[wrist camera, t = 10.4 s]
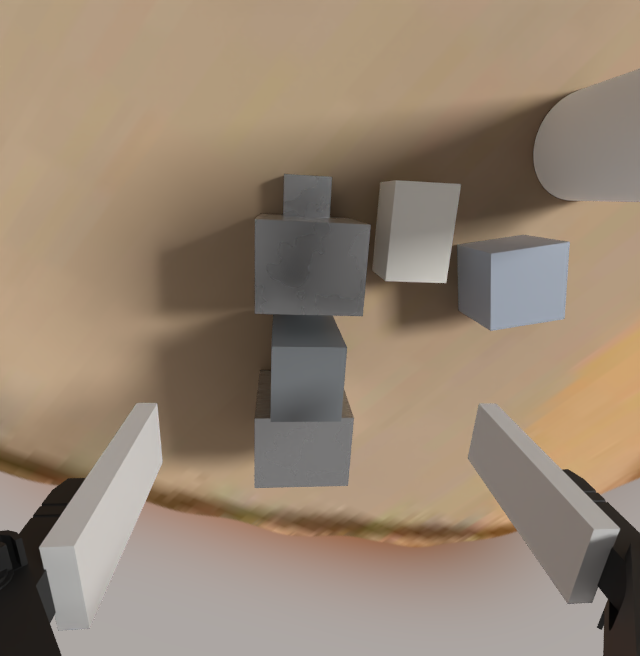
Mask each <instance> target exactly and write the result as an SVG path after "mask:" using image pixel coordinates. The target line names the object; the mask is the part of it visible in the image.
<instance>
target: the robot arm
mask: <svg viewBox="0 0 640 656" xmlns="http://www.w3.org/2000/svg"><path fill="white" fill-rule="evenodd" d="M468 459H469V461H470V462H471V464H472V465H473V467H474V468H475V470H476V471H477V473H478V474H479V476H480V477H481V478H482V480H483V481H484V483H485V484H486V486H487V487H488V489H489V490H490V492H491V493H492V494H493V496H494V497H495V499H496V500H497V502H498V503H499V505H500V506H501V508H502V509H503V510H504V512H505V513H506V515H507V516H508V518H509V519H510V521H511V522H512V524H513V525H514V526H515V528H516V529H517V531H518V532H519V534H520V535H521V537H522V538H523V540H524V541H525V542H526V544H527V545H528V547H529V548H530V550H531V551H532V553H533V554H534V556H535V557H536V559H537V560H538V561H539V563H540V564H541V566H542V567H543V569H544V570H545V572H546V573H547V575H548V576H549V577H550V579H551V580H552V582H553V583H554V585H555V586H556V588H557V589H558V590H559V592H560V593H561V595H562V596H563V598H564V599H565V601H566V602H567V604H574V603H592V602H593V599H594V596H595V594H596V591H597V588H598V587H599V588H600V589H601V591H602V592H603V593H604V594H605V596H606V597H607V598H608V601H607V603H606V606H605V609H604V611H603V614H602V616H601V618H600V621H599V624H598V626H597V628H599V629H602V628H603V626H604V651H603V653H604V655H603V656H640V533H639V532H638V531H637V530H636V529H635V528H634V527H633V526H632V525H631V524H630V523H629V522H628V521H627V520H625V519H624V517H622V516H621V515H620V514H619V513H618V512H617V511H616V510H615V509H614V508H613V507H612V506H611V505H610V504H609V503H608V502H606V501H605V499H604V498H603V497H602V496H601V495H600V494H599V493H596V490H595V489H594V488H592V487H591V486H590V485H589V484H588V483H587V482H586V481H585V480H584V479H583V478H581V477H580V476H578V475H576V474H575V473H573V472H572V471H570V470H568V469H565V470H562V469H561V468H560V467H559V466H558V465H557V464H556V463H555V462H554V461H553V460H552V459H551V458H550V457H549V456H548V455H547V454H546V453H545V452H544V451H543V450H542V449H541V448H540V447H539V446H538V445H537V444H536V443H535V442H534V441H533V440H532V439H531V438H530V437H529V436H528V435H527V434H526V433H525V432H524V431H523V430H522V429H521V428H520V427H519V426H518V425H517V424H516V423H515V422H514V421H513V420H512V419H511V418H510V417H509V416H508V415H507V414H506V413H505V412H504V411H503V410H502V409H501V408H500V407H499V406H498V405H497V404H479V406H478V411H477V415H476V420H475V425H474V430H473V435H472V440H471V445H470V449H469V454H468ZM162 462H163V461H162V450H161V439H160V428H159V416H158V405H157V403H136V405H135V406H134V408H133V409H132V411H131V412H130V414H129V415H128V417H127V418H126V420H125V421H124V423H123V424H122V426H121V427H120V429H119V430H118V431H117V433H116V434H115V436H114V437H113V439H112V440H111V442H110V443H109V445H108V446H107V448H106V449H105V451H104V452H103V454H102V455H101V457H100V458H99V460H98V461H97V462H96V464H95V465H94V467H93V468H92V470H91V471H90V473H89V474H88V476H87V477H86V478H68V479H67V480H65V481H64V482H63V483H61V484H60V485H59V486H57V487H56V488H55V489H53V490H52V491H51V493H50V494H49V495H48V496H47V498H46V499H45V500H44V502H43V503H42V506H41V507H39V508H38V510H37V511H36V513H35V514H34V515H33V518H31V519H30V520H29V521H28V523H27V524H26V525H25V527H24V528H23V529H22V531H21V532H20V533H19V534H18V533H17V532H13V531H9V530H7V531H0V656H61V653H60V650H59V648H58V645H57V642H56V639H55V637H54V634H53V631H52V628H51V626H50V622H51V620H52V619H53V616H54V615H55V620H56V624H57V628H58V631H59V630H78V629H90V627H91V625H92V623H93V620H94V618H95V616H96V613H97V611H98V609H99V606H100V604H101V602H102V600H103V597H104V595H105V593H106V590H107V588H108V586H109V584H110V581H111V579H112V577H113V575H114V572H115V570H116V567H117V565H118V563H119V561H120V558H121V556H122V554H123V552H124V549H125V547H126V545H127V542H128V540H129V538H130V536H131V533H132V531H133V529H134V526H135V524H136V522H137V520H138V517H139V515H140V513H141V510H142V508H143V506H144V504H145V501H146V499H147V497H148V494H149V492H150V490H151V487H152V485H153V483H154V481H155V478H156V476H157V474H158V471H159V469H160V467H161V465H162Z"/></svg>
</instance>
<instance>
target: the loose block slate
mask: <svg viewBox="0 0 640 656" xmlns="http://www.w3.org/2000/svg"><path fill="white" fill-rule="evenodd" d="M569 245H570V242H567V241H560V240H554V239H548V238H541V237H535V236H528V235H518V236H512V237H505V238H498V239H491V240H485V241H478V242H471V243H465V244H458V245H457V261H458V310H459V311H460V312H462V313H463V314H465V315H467V316H468V317H470V318H471V319H473V320H474V321H476V322H478V323H479V324H481V325H482V326H484V327H485V328H487V329H489V330H490V331H492V330H498V329H505V328H511V327H517V326H523V325H530V324H536V323H542V322H548V321H555V320H561V319H564V318H565V303H566V289H567V274H568V259H569Z"/></svg>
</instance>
